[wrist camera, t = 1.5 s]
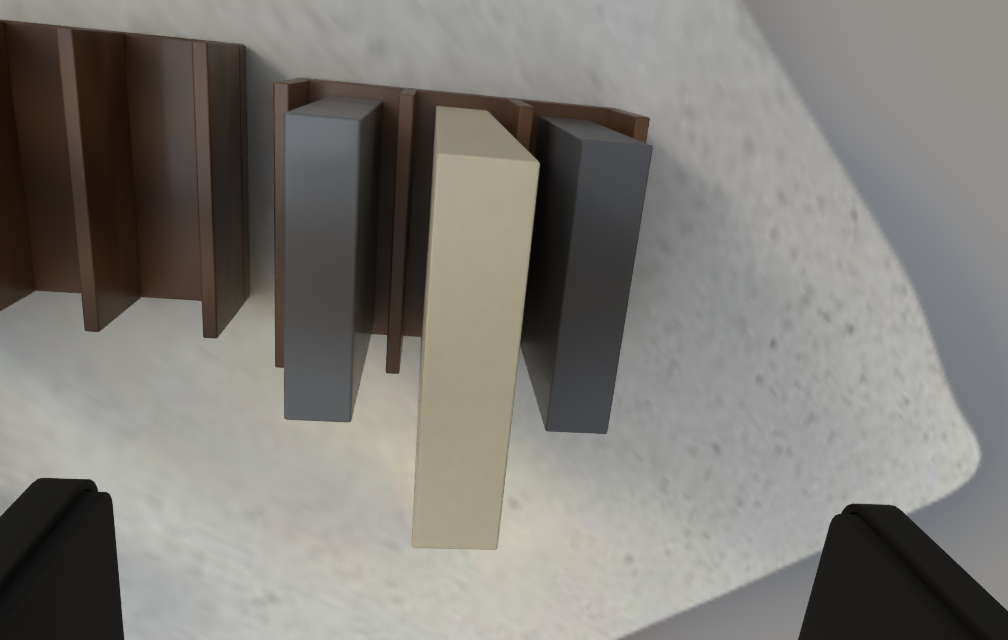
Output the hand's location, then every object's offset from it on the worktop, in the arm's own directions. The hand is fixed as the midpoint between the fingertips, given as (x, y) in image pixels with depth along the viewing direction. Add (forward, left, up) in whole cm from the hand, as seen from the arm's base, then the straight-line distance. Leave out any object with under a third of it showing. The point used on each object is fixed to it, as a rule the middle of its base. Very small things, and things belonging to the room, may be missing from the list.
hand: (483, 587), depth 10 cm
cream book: (0, 0, -22) cm, 22 cm away
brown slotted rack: (0, 0, -23) cm, 23 cm away
